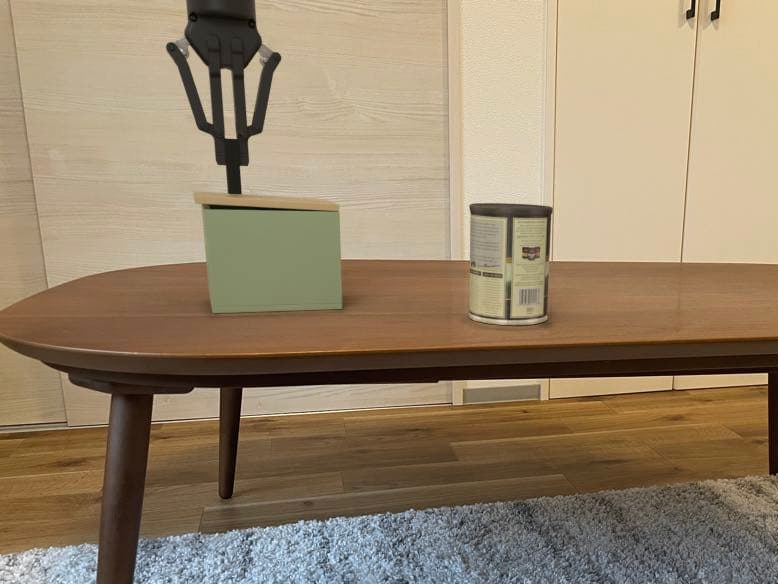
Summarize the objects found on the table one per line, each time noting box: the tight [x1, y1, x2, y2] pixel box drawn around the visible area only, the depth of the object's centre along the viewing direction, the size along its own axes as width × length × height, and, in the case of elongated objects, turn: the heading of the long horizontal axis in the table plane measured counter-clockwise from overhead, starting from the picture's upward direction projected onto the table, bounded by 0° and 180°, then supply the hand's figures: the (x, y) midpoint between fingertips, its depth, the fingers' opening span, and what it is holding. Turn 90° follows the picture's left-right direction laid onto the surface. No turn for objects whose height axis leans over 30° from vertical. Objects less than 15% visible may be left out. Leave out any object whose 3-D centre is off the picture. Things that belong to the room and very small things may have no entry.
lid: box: [192, 190, 340, 212], centre depth 99 cm, size 16×12×1 cm
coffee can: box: [468, 202, 554, 326], centre depth 98 cm, size 10×10×14 cm
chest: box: [200, 204, 343, 314], centre depth 101 cm, size 16×12×12 cm
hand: (234, 193), depth 97 cm, fingers closed
